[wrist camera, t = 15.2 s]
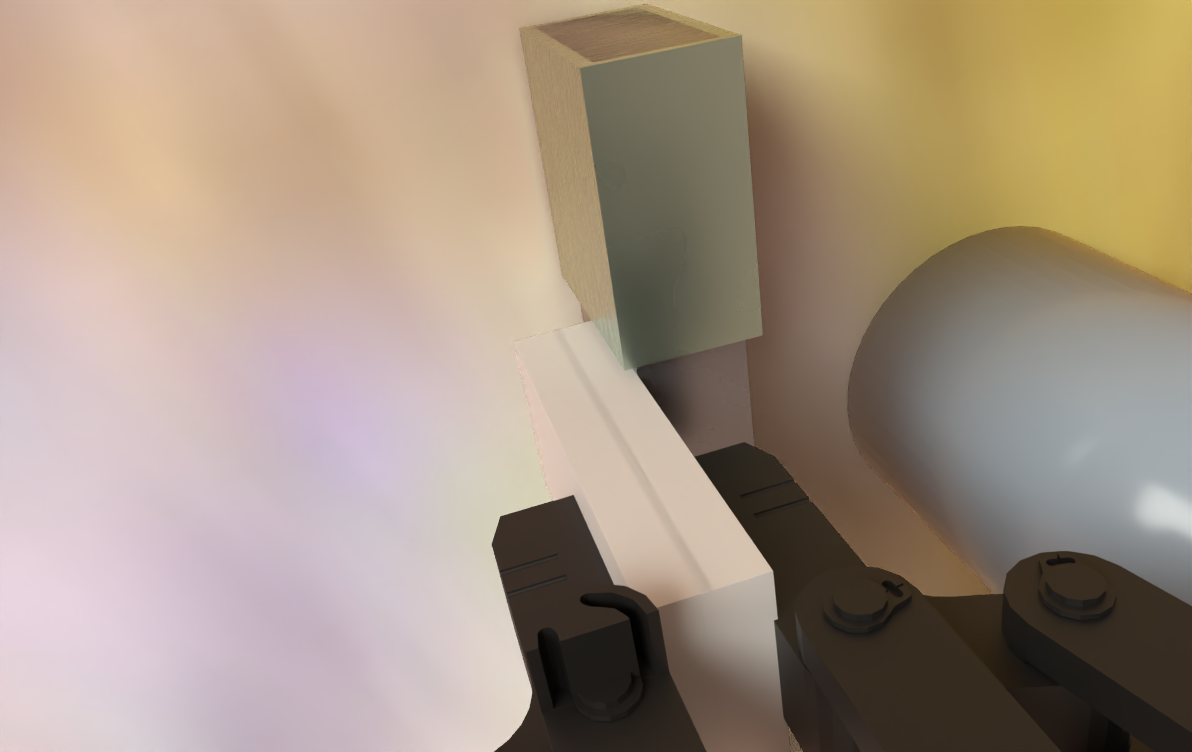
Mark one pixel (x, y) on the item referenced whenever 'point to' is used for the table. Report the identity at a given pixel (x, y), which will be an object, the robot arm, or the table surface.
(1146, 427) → the spice jar
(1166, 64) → the table surface
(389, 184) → the table surface
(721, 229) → the block
